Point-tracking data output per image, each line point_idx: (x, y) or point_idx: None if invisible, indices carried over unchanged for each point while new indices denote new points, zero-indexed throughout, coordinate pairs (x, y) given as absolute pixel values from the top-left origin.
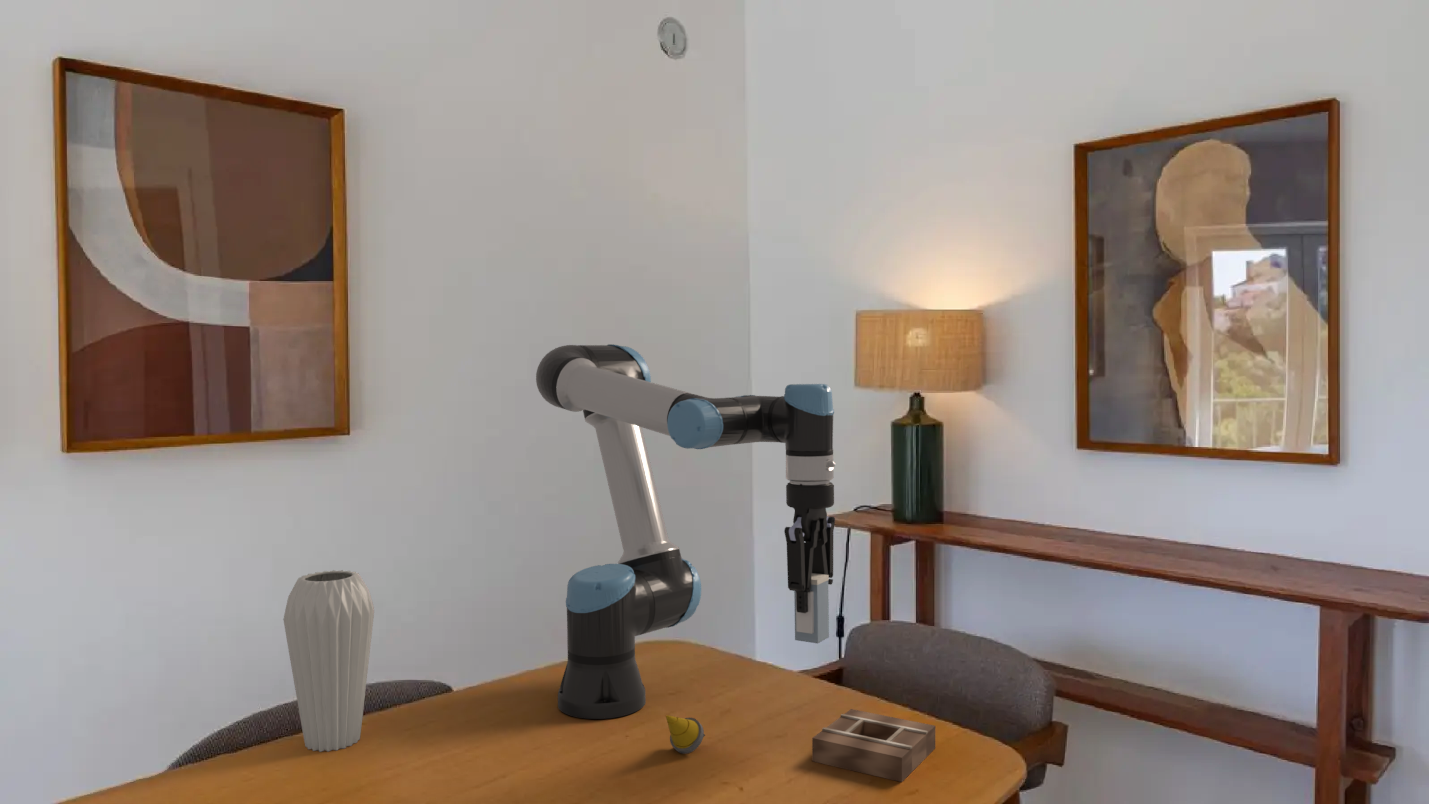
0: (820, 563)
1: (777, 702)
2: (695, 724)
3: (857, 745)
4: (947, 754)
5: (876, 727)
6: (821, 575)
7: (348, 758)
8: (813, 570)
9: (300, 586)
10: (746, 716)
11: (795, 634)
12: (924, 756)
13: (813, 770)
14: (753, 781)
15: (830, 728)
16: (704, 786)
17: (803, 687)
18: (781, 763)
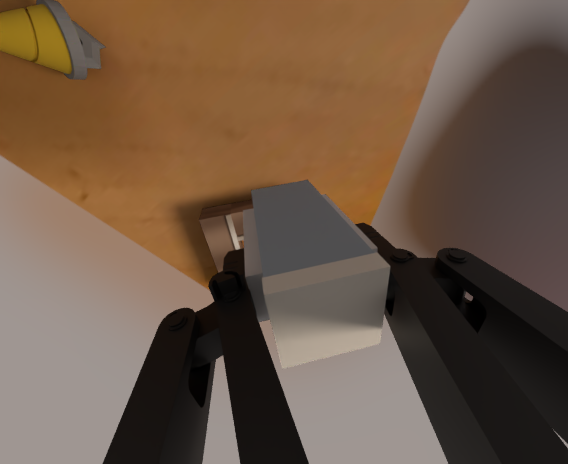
0: (413, 365)
1: (334, 41)
2: (62, 57)
3: (220, 261)
4: None
5: None
6: (361, 336)
7: None
8: (401, 301)
9: None
10: (254, 35)
11: (252, 195)
12: None
13: (186, 222)
14: (109, 195)
15: (237, 217)
16: (40, 161)
17: (412, 34)
18: (171, 188)
